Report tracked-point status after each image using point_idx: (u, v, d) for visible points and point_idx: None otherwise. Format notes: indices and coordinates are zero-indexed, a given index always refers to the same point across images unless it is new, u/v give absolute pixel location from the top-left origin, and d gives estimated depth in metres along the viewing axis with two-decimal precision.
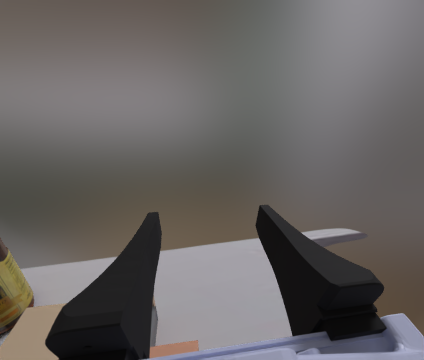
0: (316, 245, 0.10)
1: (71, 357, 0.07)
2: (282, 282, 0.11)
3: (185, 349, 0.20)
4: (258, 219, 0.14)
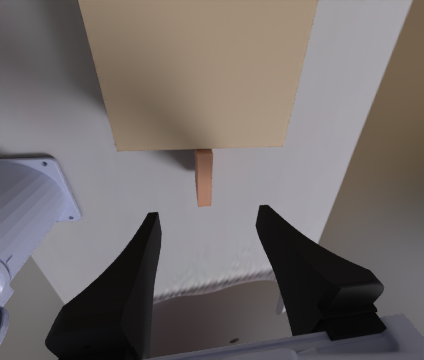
0: (316, 245, 0.10)
1: (71, 357, 0.07)
2: (282, 282, 0.11)
3: (204, 194, 0.17)
4: (258, 219, 0.14)
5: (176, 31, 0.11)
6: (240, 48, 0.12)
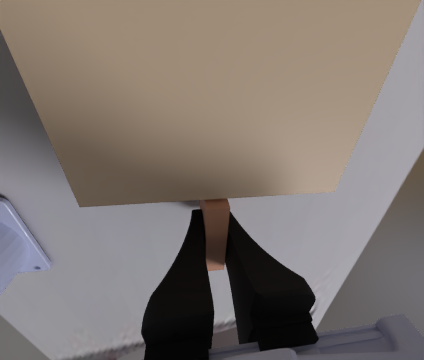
0: (261, 250, 0.09)
1: (157, 344, 0.07)
2: (233, 288, 0.11)
3: (214, 257, 0.12)
4: None
5: (172, 9, 0.06)
6: (289, 42, 0.07)
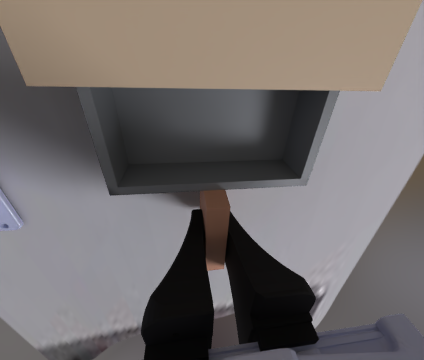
0: (261, 250, 0.09)
1: (157, 344, 0.07)
2: (233, 288, 0.11)
3: (214, 257, 0.12)
4: None
5: None
6: None
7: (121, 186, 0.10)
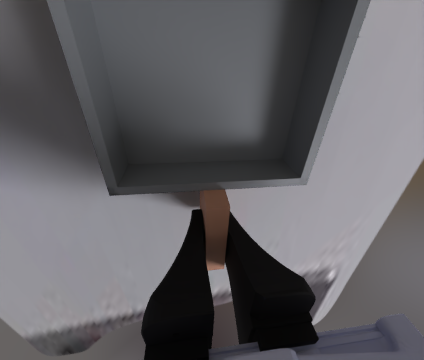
0: (261, 250, 0.09)
1: (157, 344, 0.07)
2: (232, 288, 0.11)
3: (214, 257, 0.12)
4: None
5: None
6: None
7: (121, 186, 0.10)
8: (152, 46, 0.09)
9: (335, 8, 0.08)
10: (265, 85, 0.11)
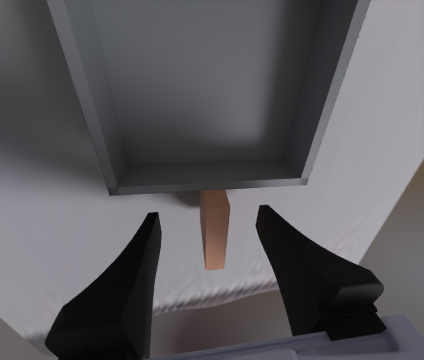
0: (316, 245, 0.10)
1: (71, 357, 0.07)
2: (282, 282, 0.11)
3: (214, 257, 0.12)
4: (258, 219, 0.14)
5: None
6: None
7: (121, 186, 0.10)
8: (152, 46, 0.09)
9: (335, 8, 0.08)
10: (265, 85, 0.11)
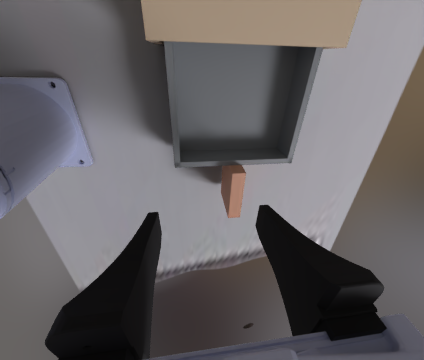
0: (316, 245, 0.10)
1: (71, 357, 0.07)
2: (282, 282, 0.11)
3: (234, 207, 0.19)
4: (258, 219, 0.14)
5: None
6: None
7: (182, 162, 0.17)
8: (203, 82, 0.16)
9: (303, 64, 0.15)
10: (266, 102, 0.18)
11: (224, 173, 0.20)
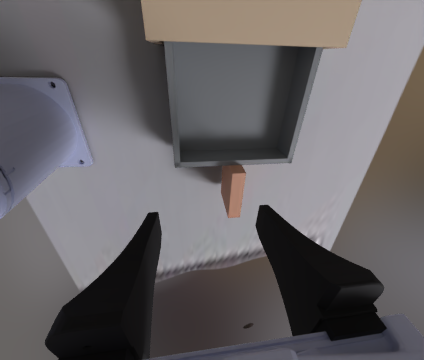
0: (316, 245, 0.10)
1: (71, 357, 0.07)
2: (282, 282, 0.11)
3: (234, 207, 0.19)
4: (258, 219, 0.14)
5: None
6: None
7: (182, 162, 0.17)
8: (203, 82, 0.16)
9: (303, 64, 0.15)
10: (266, 102, 0.18)
11: (224, 173, 0.20)
